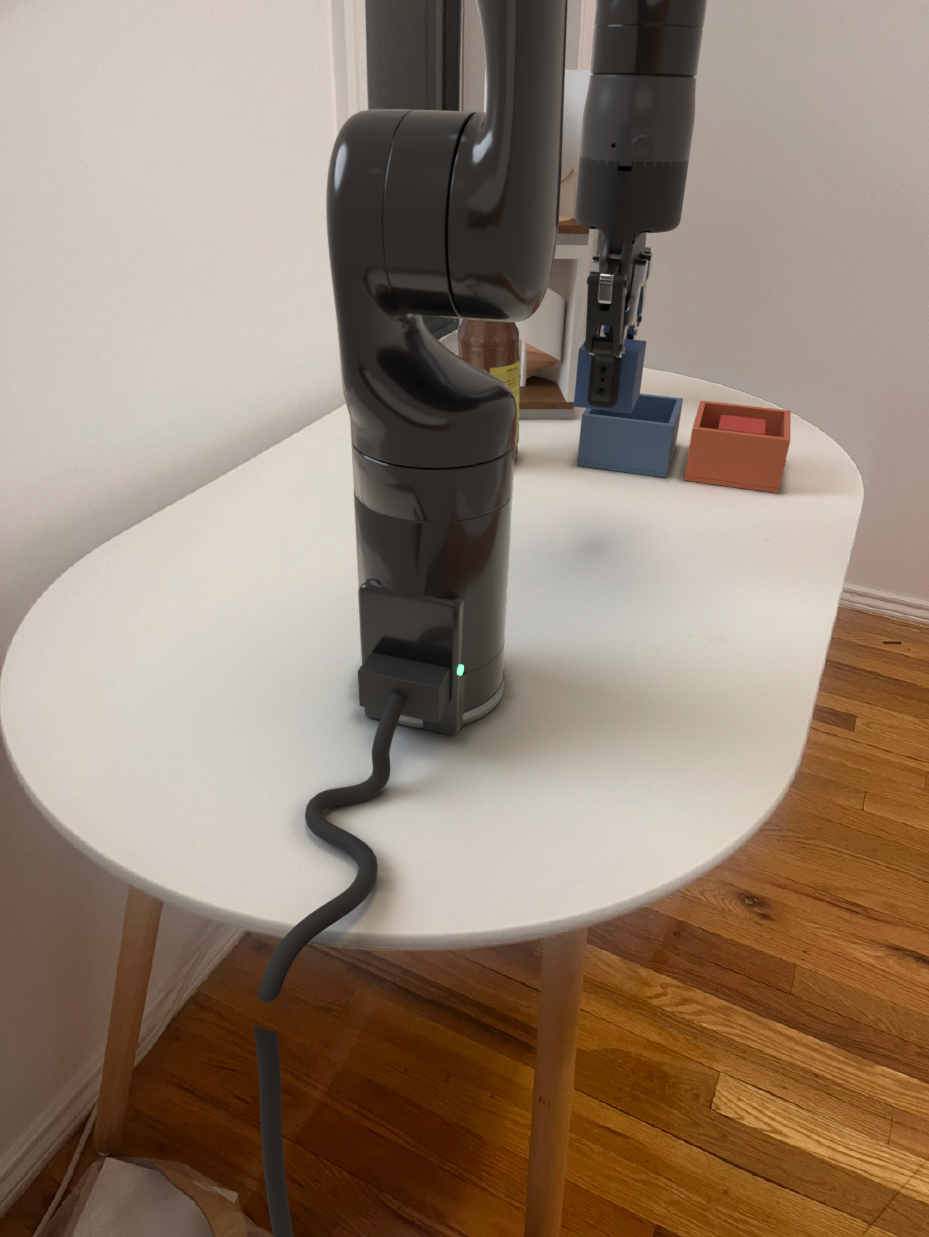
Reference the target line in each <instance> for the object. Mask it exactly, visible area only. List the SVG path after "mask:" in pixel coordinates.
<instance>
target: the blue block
mask: <svg viewBox="0 0 929 1237" xmlns="http://www.w3.org/2000/svg"><path fill="white" fill-rule="evenodd" d="M584 343H585V341H584V342H583V343H582V344H581V346H579V352H578V363H577V374H576V385H575V396H574V408H581V409H582V408H583V409H586V408H590V409H598V410H606V411H614V412H622V413H631V412H632V410H633V408H634V406H635V404H636V402H637V400H638V398H639V395H640V394H641V389H642V388H641V387H642V378H643V371H644V365H645V364H644V363H645V356H646V349H647V341H646V340H640V339H635V340H632V339H626V342H625V347H626V351H625V354H623V358H622V364H621V373H620V382H619V390H618V399H617V402H616V404H615V405H614V406H613V407H611V408H607V407H599V406H592V405H590V404H589V403H588V400H587V399H588V388H589V378H590V368H591V358H592V356H590V355H589V353H586V352H585V348H584Z"/></svg>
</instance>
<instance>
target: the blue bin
mask: <svg viewBox="0 0 929 1237" xmlns="http://www.w3.org/2000/svg"><path fill="white" fill-rule="evenodd" d="M683 402H684V398H683V397H674V396H665V395H659V394H658V395H657V394H648V393H640V395H639V398H638V400H637V402H636V404H635V406H634V408H633V410H632V412H631V413H622V412H614V411H606V410H598V409H590V408H584V411H583V412H582V414H581V418H580V419H581V420H580V431H579V439H578V440H579V441H578V450H577V463H576V464H577V465H576V466H578V467H585V468H591V469H592V468H593V469H599V470H605V471H606V470H607V471H614V472H619V473H620V472H621V473H627V474H636V475H643V476H651V477H656V478H657V477H658V478H665V479H666V478H667V475H668V473H669V470H670V467H671V463H672V459H673V456H674V454H675V449H676V447H677V440H678V436H679V435H678V434H679V427H680V422H681V414H682V409H683V404H684V403H683Z"/></svg>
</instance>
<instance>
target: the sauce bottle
mask: <svg viewBox="0 0 929 1237" xmlns="http://www.w3.org/2000/svg"><path fill="white" fill-rule="evenodd" d="M518 342H519V330H518V328H517V326H516V324H515V322H508V323H506V322H490V321H479V320H468V319H461V322H460V324H459V325H458V330H457V349H458V352H457V353H458V354H457V356H459V357H460V358H462V359H463V360H465V361H467V362H469V363H471V364H472V365H474V366H476V367H478V368H480V369H482V370H484V371H486V372H488V373H490V374H492V375H494V376H495V377H497V378H498V379H500V380H501V381H502V382H504V383H505V384H506V385H507V386H508V387H509V388H510V390H511V391H512V393H513V395H514V397H515V401H516V405H517V426H516V441H515V460H516V459H517V456H518V453H519V450H518V449H519V442H520V419H519V386H520V358H519V344H518Z"/></svg>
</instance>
